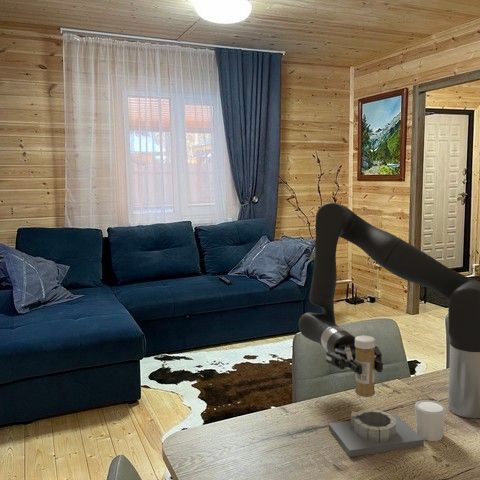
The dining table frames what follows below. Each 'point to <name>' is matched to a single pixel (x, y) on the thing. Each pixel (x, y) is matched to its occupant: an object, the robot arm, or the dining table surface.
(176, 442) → the dining table surface
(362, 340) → the sprinkles bottle
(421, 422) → the white tapered cup
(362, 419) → the stone block collar
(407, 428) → the socket plate
